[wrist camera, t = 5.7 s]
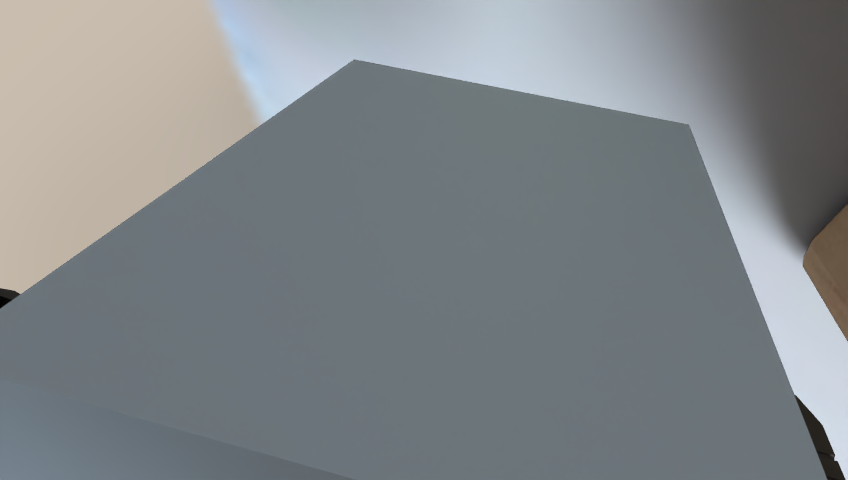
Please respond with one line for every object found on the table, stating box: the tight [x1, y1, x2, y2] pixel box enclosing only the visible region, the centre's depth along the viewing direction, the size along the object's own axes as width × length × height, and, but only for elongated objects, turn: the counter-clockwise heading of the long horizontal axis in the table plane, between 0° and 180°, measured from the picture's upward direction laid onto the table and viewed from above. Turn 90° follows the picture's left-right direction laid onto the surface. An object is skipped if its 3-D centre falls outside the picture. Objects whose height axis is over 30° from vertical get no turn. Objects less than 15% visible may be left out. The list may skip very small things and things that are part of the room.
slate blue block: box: [0, 60, 827, 480], centre depth 9 cm, size 6×6×9 cm
